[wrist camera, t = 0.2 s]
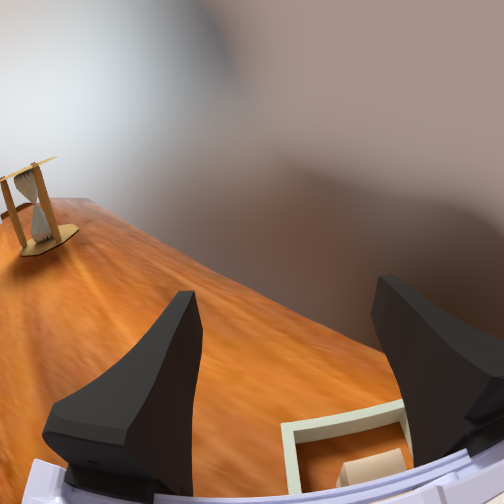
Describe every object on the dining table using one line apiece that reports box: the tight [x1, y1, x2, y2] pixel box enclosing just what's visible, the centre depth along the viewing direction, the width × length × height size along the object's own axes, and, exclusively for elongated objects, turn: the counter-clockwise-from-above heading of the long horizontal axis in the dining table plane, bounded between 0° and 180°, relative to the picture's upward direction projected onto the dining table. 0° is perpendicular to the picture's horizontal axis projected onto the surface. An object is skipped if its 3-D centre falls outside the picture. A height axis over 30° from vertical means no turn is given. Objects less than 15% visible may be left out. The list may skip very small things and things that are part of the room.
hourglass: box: [0, 157, 78, 256], centre depth 78 cm, size 24×22×25 cm
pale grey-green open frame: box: [281, 399, 413, 495], centre depth 18 cm, size 17×13×3 cm
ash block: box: [336, 448, 413, 504], centre depth 17 cm, size 4×4×6 cm
